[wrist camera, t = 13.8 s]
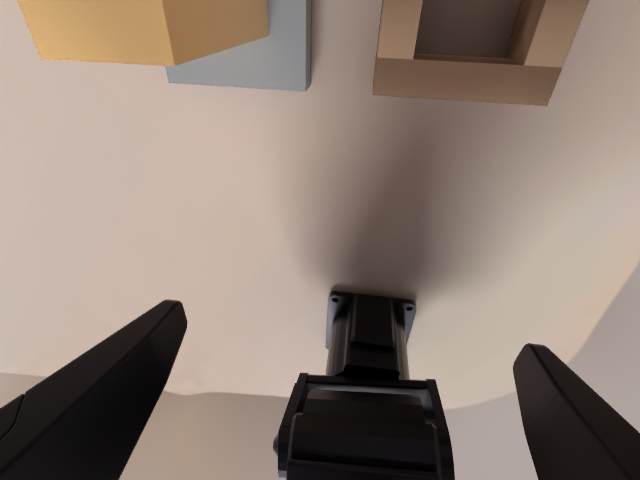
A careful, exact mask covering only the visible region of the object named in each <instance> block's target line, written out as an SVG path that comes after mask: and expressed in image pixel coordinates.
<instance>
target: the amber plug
mask: <svg viewBox="0 0 640 480" xmlns="http://www.w3.org/2000/svg"><path fill="white" fill-rule="evenodd" d="M17 1H18V3H19V6H20V9H21V11H22V14H23V16H24V19H25V21H26V24H27V26H28V29H29V31H30V34H31V36H32V39H33V41H34V44H35V46H36V49H37V51H38V54H39V56H40V59H46V60H65V61H85V62H105V63H124V64H144V65H164V66H177V65H180V64H183V63H186V62H189V61H192V60H195V59H198V58H202V57H205V56H208V55H211V54H214V53H217V52H220V51H224V50H227V49H230V48H233V47H236V46H239V45H242V44H245V43H249V42H252V41H255V40H258V39H261V38H264V37H267V36H269V29H268V9H267V0H17Z"/></svg>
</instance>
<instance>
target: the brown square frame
mask: <svg viewBox="0 0 640 480" xmlns="http://www.w3.org/2000/svg"><path fill="white" fill-rule="evenodd" d="M588 2H589V0H522V3H521V7H520V10H519V13H518V16H517V20H516V23H515V26H514V29H513V33H512V36H511V39H510V42H509V46H508V49H507V52H506V55H505V57H487V56H468V55H449V54H430V53H414V50H415V44H416V38H417V32H418V27H419V21H420V15H421V9H422V3H423V0H382V9H381V18H380V27H379V36H378V45H377V53H376V62H375V71H374V80H373V95H383V96H399V97H415V98H431V99H446V100H462V101H478V102H494V103H510V104H525V105H541V106H547V105H548V102H549V100H550V97H551V95H552V92H553V90H554V87H555V85H556V82H557V80H558V77H559V75H560V72H561V70H562V67H563V65H564V62H565V60H566V57H567V55H568V52H569V50H570V47H571V44H572V42H573V39H574V37H575V34H576V32H577V29H578V27H579V24H580V22H581V19H582V17H583V14H584V12H585V9H586V7H587V4H588Z"/></svg>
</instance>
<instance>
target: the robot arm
mask: <svg viewBox="0 0 640 480" xmlns="http://www.w3.org/2000/svg"><path fill="white" fill-rule="evenodd" d="M334 298H338V299H334ZM408 306H411V307H408ZM415 312H416V303H415V302H414V301H412V300H405V299H396V298H388V297H379V296H370V295H361V294H353V293H344V292H331V293H330V295H329V303H328V318H327V333H326V348H327V349H328V350H329V352H328V360H327V368H326V375H309V374H308V373H300V375H299V378H298V380H297V383H295V385H294V388H293V391H292V394H291V397H290V400H289V402H288V406H287V409H286V411H285V414H284V417H283V420H282V423H281V426H280V429H279V432H278V434H277V435H276V437H275V439H274V444H273V449H274V451H275V453H276V455H277V456H278V474H279V480H455V476H454V463H453V454H452V447H451V441H450V436H449V431H448V427H447V424H446V419H445V416H444V412H443V408H442V404H441V400H440V396H439V392H438V389H437V385H436V381H435V379H426V380H410V378H409V368H408V357H407V347H406V345H407V341H408V337H409V334H410V330H411V327H412V323H413V319H414V316H415ZM186 329H187V319H186V315H185V312H184V308H183V305H182V303H181V302H180V301H176V300H164V301H162V302H161V303H159V304H158V305H156V306H155V307H153V308H152V309H150V310H149V311H147V312H146V313H144V314H143V315H141V316H140V317H138V318H137V319H135V320H134V321H132V322H131V323H129V324H127V325H126V326H124V327H123V328H121V329H120V330H118V331H117V332H115V333H114V334H112V335H111V336H109V337H108V338H106V339H105V340H103V341H102V342H100V343H99V344H97V345H96V346H94V347H93V348H91V349H90V350H88V351H87V352H85V353H84V354H82V355H81V356H79V357H78V358H76V359H75V360H73V361H71V362H70V363H68V364H67V365H65V366H64V367H62V368H61V369H59V370H58V371H56V372H55V373H53V374H52V375H50V376H49V377H47V378H46V379H45V380H43V381H41V382H40V383H38V384H37V385H35V386H34V387H32V388H31V389H29V390H28V391H26V393H25V394H21V395H20V396H19V397H17V398H15V399H14V400H12V401H11V402H9V403H8V404H6V405H5V406H3V407H2V408H0V480H119V478H120V476H121V474H122V472H123V470H124V468H125V466H126V464H127V462H128V460H129V458H130V455H131V454H132V452H133V450H134V448H135V446H136V444H137V442H138V440H139V438H140V435H141V434H142V432H143V430H144V427H145V426H146V424H147V421H148V419H149V417H150V415H151V413H152V411H153V409H154V407H155V405H156V403H157V401H158V399H159V397H160V395H161V393H162V391H163V389H164V387H165V385H166V383H167V380H168V378H169V375H170V373H171V370H172V367H173V364H174V362H175V359H176V356H177V354H178V351H179V348H180V346H181V343H182V340H183V337H184V335H185V332H186ZM513 373H514V379H515V384H516V389H517V394H518V400H519V405H520V410H521V416H522V422H523V427H524V431H525V435H526V439H527V443H528V446H529V449H530V453H531V456H532V459H533V463H534V466H535V469H536V473H537V476H538V480H640V433H639V432H638V431H637V430H636V429H635V428H634V427H633V426H631V425H630V424H629V423H628V422H627V421H626V420H625V419H624V418H623V417H622V416H621V415H619V413H617V412H616V411H615V410H614V409H613V408H612V407H611V406H610V405H609V404H608V403H606V402H605V400H603V399H602V398H601V397H600V396H599V395H598V394H597V393H596V392H595V391H594V390H593V389H592V388H590V387H589V386H588V385H587V384H586V383H585V382H584V381H583V380H582V379H581V378H580V377H579V376H578V375H577V374H575V373H574V372H573V371H572V370H571V369H570V368H569V367H568V366H567V365H566V364H565V363H564V362H562V361H561V360H560V359H559V358H558V357H557V356H556V355H555V354H554V353H553V352H552V351H551V350H550V349H548V348H547V347H546V346H544V345H539V344H530V343H528V344H526V345H524V347H523V348H522V350H521V352H520V353H519V355H518V357H517V359H516V360H515V362H514V365H513Z"/></svg>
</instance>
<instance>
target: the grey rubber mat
mask: <svg viewBox="0 0 640 480" xmlns="http://www.w3.org/2000/svg"><path fill="white" fill-rule="evenodd" d="M267 9H268V29H269V36H267V37H264V38H261V39H258V40H255V41H252V42H249V43H245V44H242V45H239V46H236V47H233V48H230V49H227V50H224V51H220V52H217V53H214V54H211V55H208V56H205V57H202V58H198V59H195V60H192V61H189V62H186V63H183V64H180V65H177V66H165V67H166V72H167V77H168V81H169V83H179V84H194V85H210V86H226V87H242V88H257V89H273V90H289V91H305V92H306V90H307V89H308V88H309V86H310V61H311V0H267Z"/></svg>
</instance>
